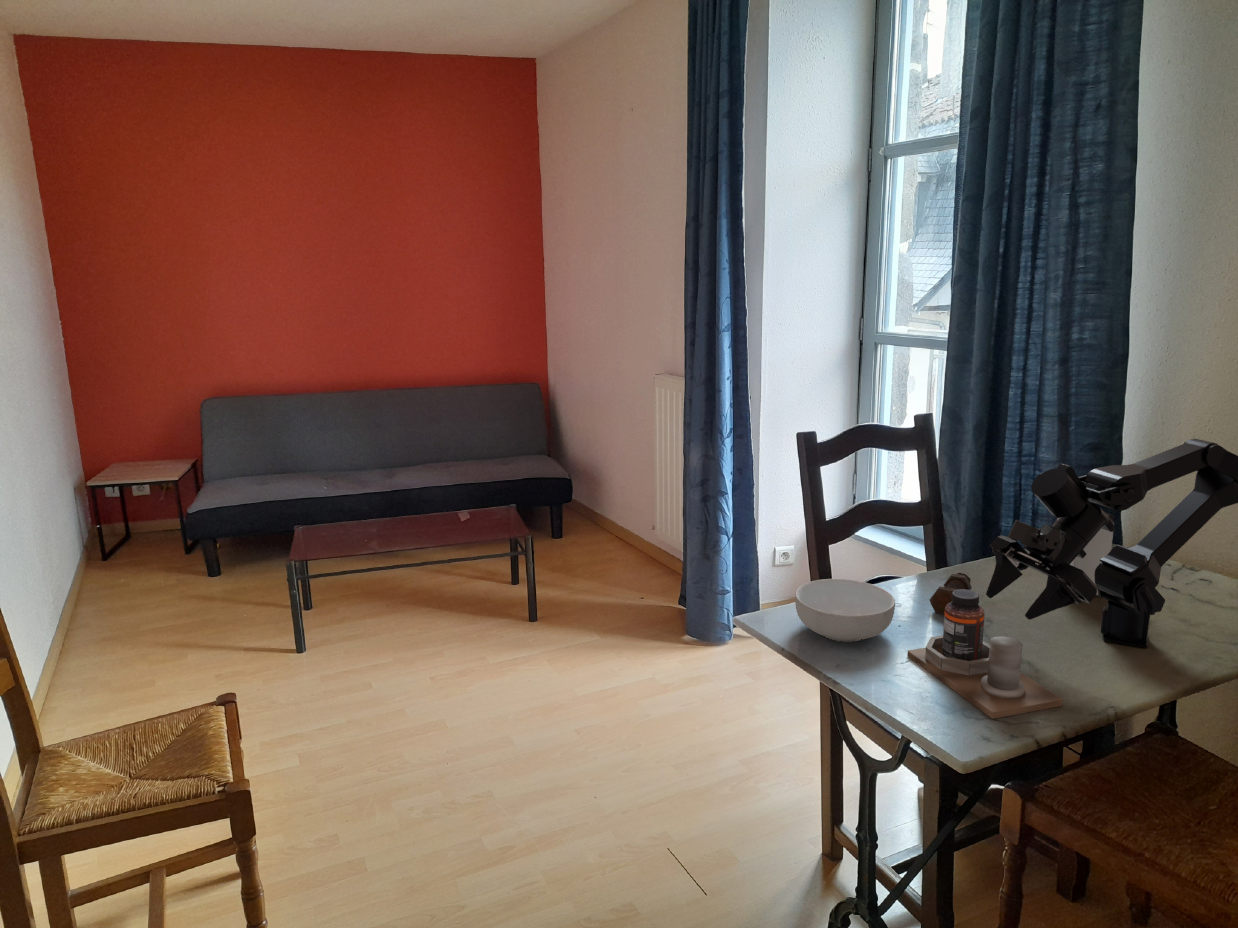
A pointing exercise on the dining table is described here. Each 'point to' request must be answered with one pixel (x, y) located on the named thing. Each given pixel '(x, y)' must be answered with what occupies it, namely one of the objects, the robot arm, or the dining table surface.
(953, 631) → the supplement bottle
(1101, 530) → the skincare box
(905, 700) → the dining table surface
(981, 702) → the pin board
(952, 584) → the bolt
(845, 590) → the cereal bowl
